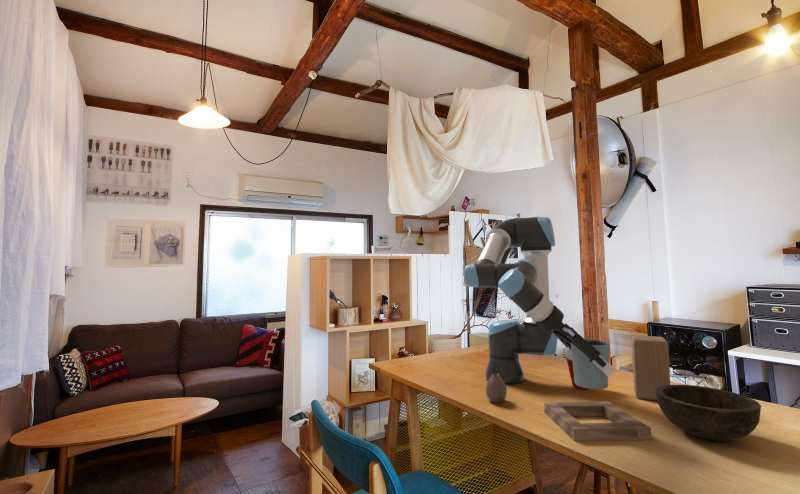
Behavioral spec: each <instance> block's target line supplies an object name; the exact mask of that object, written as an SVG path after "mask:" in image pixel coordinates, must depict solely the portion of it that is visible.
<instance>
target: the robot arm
mask: <svg viewBox="0 0 800 494" xmlns="http://www.w3.org/2000/svg"><path fill="white" fill-rule="evenodd" d="M485 240H486V241H485V245H484V247H483V249H482V251H481V253H480V254H479V257H478V258H477V261H476V263H471V264H466V266H465V267H464V271H463V277H464V278H463V279H464V284H465V286H467V287H470V288H498V289H500V290H501V291H502V293H503V294H504V295H505V296H506V297H507V298H508V299H510V300H511V301H512V302H513V303H514V304H515V305H516V306H517V307H518V308H520V310H522V312H523V313H525V314H526V315H525V317H524V318H523V320H522V324H521V323H519V321H518V320H517V319H506V320H505V319H504V320H497V321H493V322H491V323H490V324H489V325H488V334H487V335H488V352H489V353H488V362H487V365H486V368H485V372H484V373H485V374H484V375H485V377H486V378H487V379H488V380H489V379H490V378H491V376H492V374H499V375H500V377H501V379H502V380H503V381H504V383H509V384H508V385H513V383H516V384H520V382H521V383H523V382H524V381H525V374H524V371H523V368H522V365H521V362H520V355H530V356H531V355H532V356H542V357H545V356H546V357H553V356H555V354H556V353H557V348H558V340H559V341H560V342H561V343H562V345H564V347H565V348H567V349H568V350H570V351H571V344H570V343H572V344H573V345H574V346H576V347H577V348H578V349H579V350H580V351H582V352H583V353H584V354H585V355H586V356H588V357H589V358H590V360H589V362H593V363H594V364H595V365H596V366H597V367H598V368H599V369H600V370H601V371H602V372H603V373H604V374H605V375H606V376H607V377H608V378H611V375H612V374H613V373H615V372H616V369H615V368H614V367H613V366H612V365H611V364H610V363H609V362H607V361H606V360H605V359H604V358H603V357H602V356H600V354H601V353H600V352H599V351H598V350H596V349H595V348H594V347H593V346H592V345H591V344H590V343H588V342H587V341H586V340H585V339H586V338H584V337H583V336H582V335H580V334H579V333H578V332H577V331H576V330H575V329H574V327H572V326H570V325H569V324H568V323H564V322H563V320H564V318H565V315H564V313H563V312H562V310H561V309H559V308H558V307H557V305H554V302H553V301H551V300H550V285H549V283H550V282H549V279H550V278H549V258H548V255H550V254H551V252H552V247H555V246H556V240H555V233H554V227H553V224H552V220H551V218H550V217H548V216H532V217H520V218H509V219H506V220H505V219H504V220H503V221H501V222H499V223H497V224H496V225H495V226H493V227H491V229H490V230H489V231H488V233H487V234H486V238H485ZM510 248H520V253H521V254H522V255H523V256H524V258H521V259H517V260H516V261H515V262H514V263H502V260H503V257H504V255H505V253H506V251H507V250H508V249H510ZM486 378H485V379H486ZM487 379H486V380H487ZM488 380H487V381H488ZM522 381H523V382H522ZM511 383H512V384H511Z"/></svg>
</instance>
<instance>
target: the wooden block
mask: <svg viewBox="0 0 800 494" xmlns="http://www.w3.org/2000/svg"><path fill="white" fill-rule="evenodd" d="M669 353H670V352H669V342H668V341H667V340H666V338H665V337H663V336H655V335H653V336H650V335H637V334H636V335H635V334H634V335H632V336H631V356H632V357H631V359H632V375H633V376H632V377H633V378H632V379H633V390H634V395H635V397H636V398H637V399H638V400H639V399H640V400H646V401H647V400H648V401H656V402H658V401H657V396H656V389H657V388H658V387H660V386H665V385H671V375H670V354H669Z"/></svg>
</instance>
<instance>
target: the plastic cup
mask: <svg viewBox="0 0 800 494" xmlns="http://www.w3.org/2000/svg"><path fill="white" fill-rule="evenodd" d="M564 358H565V360H566V363H567V365H568V371H569V375H570V380H571V384H572V387H573V388H574V389H577V390H581V391H582V390H583V391H588V390H589V389H588V388H583V387H580V386H577V385H576V384H575V382H574V372H573V362H572V352H571V351H570V352H566V353H565V354H564ZM587 389H588V390H587Z"/></svg>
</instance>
